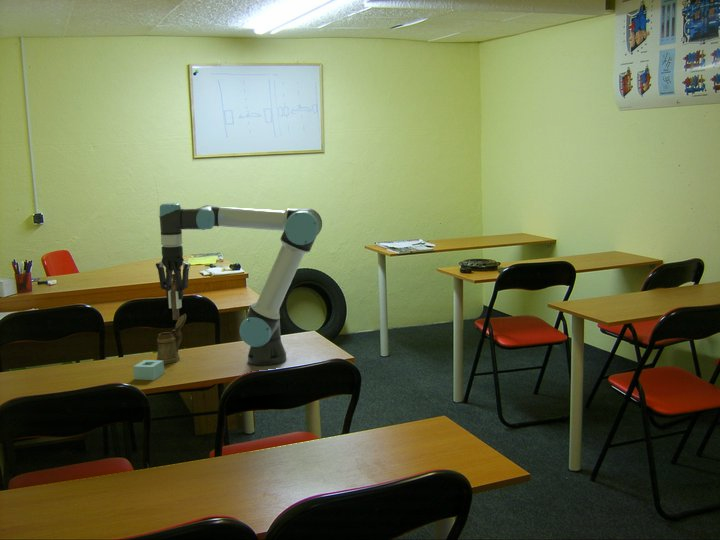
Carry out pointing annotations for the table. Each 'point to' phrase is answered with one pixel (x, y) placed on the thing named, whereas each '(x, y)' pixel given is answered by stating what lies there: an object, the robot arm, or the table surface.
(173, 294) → the brown stepped rod
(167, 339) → the wooden mug
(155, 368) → the bead
